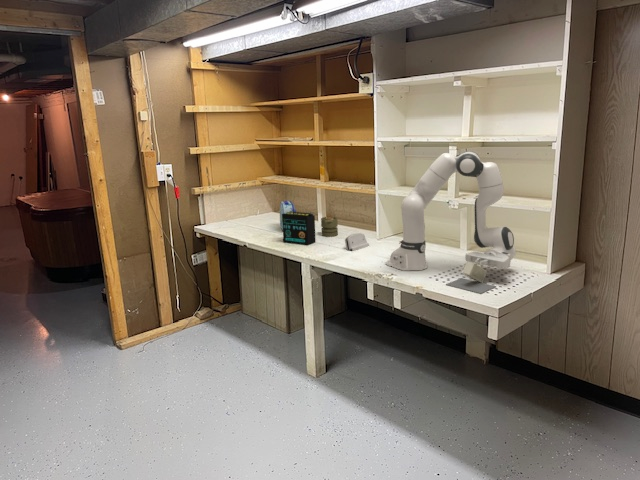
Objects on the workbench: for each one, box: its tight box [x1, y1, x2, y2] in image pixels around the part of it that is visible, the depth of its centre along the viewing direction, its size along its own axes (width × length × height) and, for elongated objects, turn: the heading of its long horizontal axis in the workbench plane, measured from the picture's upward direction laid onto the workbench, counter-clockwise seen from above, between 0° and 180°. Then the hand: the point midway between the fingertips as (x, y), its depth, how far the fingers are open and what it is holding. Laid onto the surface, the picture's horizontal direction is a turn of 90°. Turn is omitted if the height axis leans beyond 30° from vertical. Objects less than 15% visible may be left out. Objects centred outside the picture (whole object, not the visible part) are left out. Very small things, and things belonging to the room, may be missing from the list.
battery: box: [282, 211, 316, 246], centre depth 311 cm, size 19×10×20 cm, turn 59°
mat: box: [445, 277, 497, 295], centre depth 219 cm, size 18×13×1 cm
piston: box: [320, 216, 339, 238], centre depth 331 cm, size 11×12×11 cm
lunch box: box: [279, 200, 297, 231], centre depth 353 cm, size 26×11×21 cm, turn 10°
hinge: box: [344, 232, 370, 252], centre depth 295 cm, size 17×5×10 cm, turn 136°
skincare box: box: [461, 261, 488, 283], centre depth 221 cm, size 6×4×12 cm
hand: (478, 263), depth 221 cm, fingers closed
